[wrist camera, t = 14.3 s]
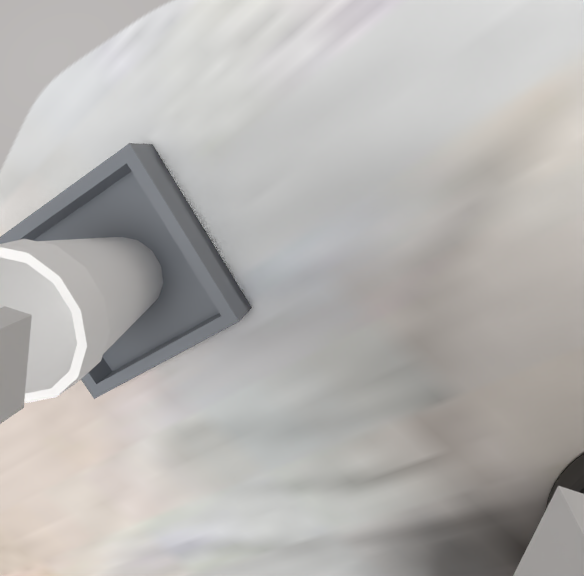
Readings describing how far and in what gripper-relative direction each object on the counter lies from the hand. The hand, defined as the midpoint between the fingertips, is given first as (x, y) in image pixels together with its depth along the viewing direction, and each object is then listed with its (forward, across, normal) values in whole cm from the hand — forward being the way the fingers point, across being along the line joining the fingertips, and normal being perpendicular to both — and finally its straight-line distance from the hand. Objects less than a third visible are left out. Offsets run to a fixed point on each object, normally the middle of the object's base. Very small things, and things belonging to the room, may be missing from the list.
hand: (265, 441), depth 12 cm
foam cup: (+26, +17, +7) cm, 32 cm away
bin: (+27, +17, +7) cm, 32 cm away
